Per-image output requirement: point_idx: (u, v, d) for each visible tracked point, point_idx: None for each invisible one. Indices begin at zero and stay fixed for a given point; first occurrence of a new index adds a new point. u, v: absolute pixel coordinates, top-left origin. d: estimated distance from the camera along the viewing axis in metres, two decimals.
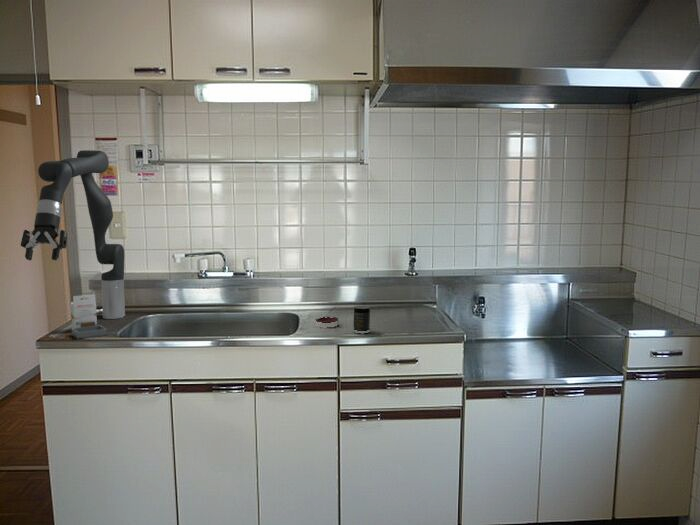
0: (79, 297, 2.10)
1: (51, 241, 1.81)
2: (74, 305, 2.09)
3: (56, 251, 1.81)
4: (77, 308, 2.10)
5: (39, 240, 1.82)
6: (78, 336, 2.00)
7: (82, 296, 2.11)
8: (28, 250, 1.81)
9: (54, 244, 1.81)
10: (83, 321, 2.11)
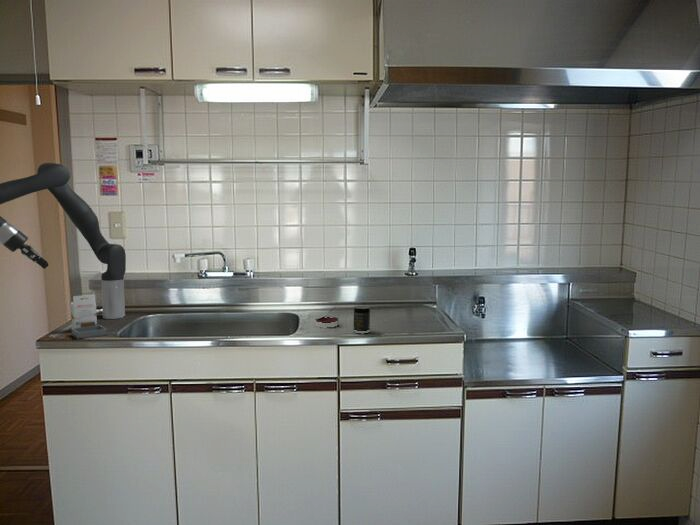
0: (79, 297, 2.10)
1: None
2: (74, 305, 2.09)
3: (39, 263, 1.99)
4: (77, 308, 2.10)
5: None
6: (78, 336, 2.00)
7: (82, 296, 2.11)
8: None
9: None
10: (83, 321, 2.11)
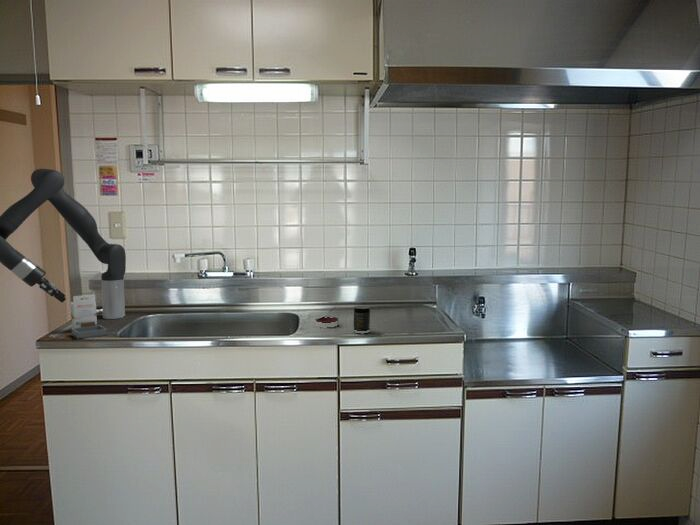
0: (79, 297, 2.10)
1: (47, 293, 2.03)
2: (74, 305, 2.09)
3: (57, 297, 2.04)
4: (77, 308, 2.10)
5: None
6: (78, 336, 2.00)
7: (82, 296, 2.11)
8: None
9: None
10: (83, 321, 2.11)
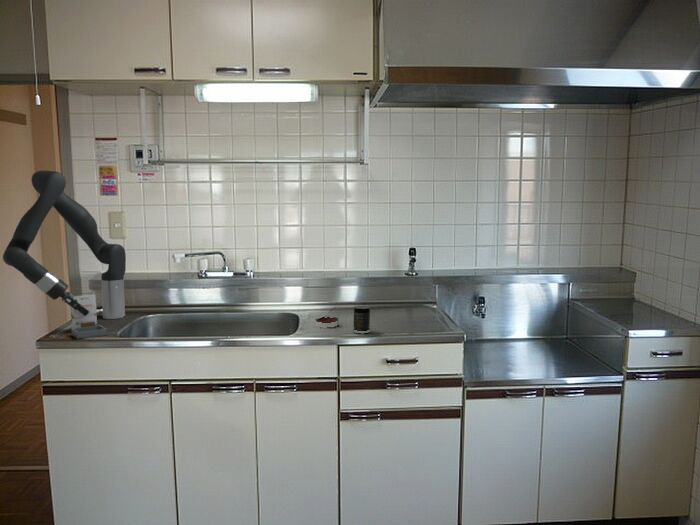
0: (79, 297, 2.10)
1: (71, 306, 2.09)
2: (74, 305, 2.09)
3: (80, 311, 2.09)
4: None
5: None
6: (78, 336, 2.00)
7: (82, 296, 2.10)
8: None
9: None
10: (83, 321, 2.11)
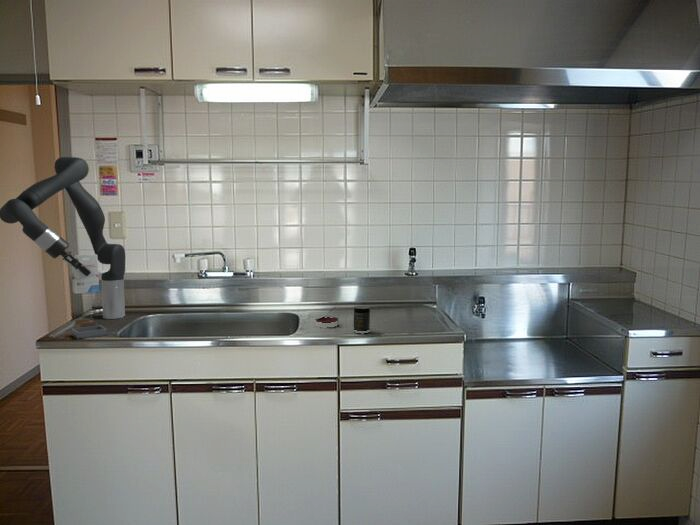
0: (80, 257, 2.00)
1: None
2: (75, 264, 1.99)
3: (81, 270, 2.00)
4: None
5: None
6: (78, 336, 2.00)
7: (84, 255, 2.01)
8: None
9: None
10: (84, 282, 2.02)
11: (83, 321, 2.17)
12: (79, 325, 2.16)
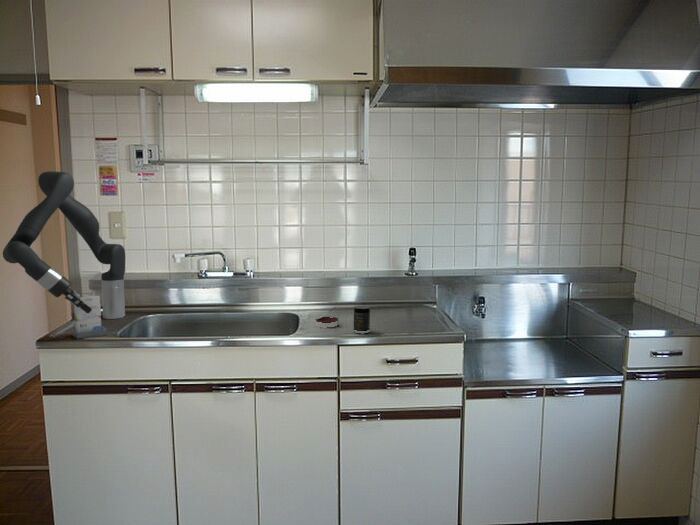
0: (83, 299, 2.02)
1: None
2: None
3: (82, 308, 2.00)
4: (81, 309, 2.02)
5: None
6: (78, 336, 2.00)
7: (86, 297, 2.03)
8: None
9: None
10: (87, 324, 2.04)
11: None
12: None
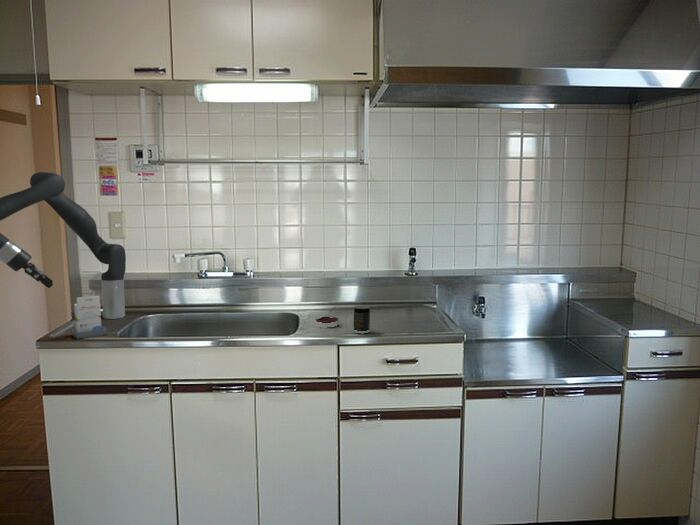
0: (83, 299, 2.02)
1: (33, 278, 1.93)
2: (78, 307, 2.01)
3: (43, 282, 1.94)
4: (81, 309, 2.02)
5: None
6: (78, 336, 2.00)
7: (86, 297, 2.03)
8: None
9: None
10: (87, 324, 2.04)
11: None
12: None
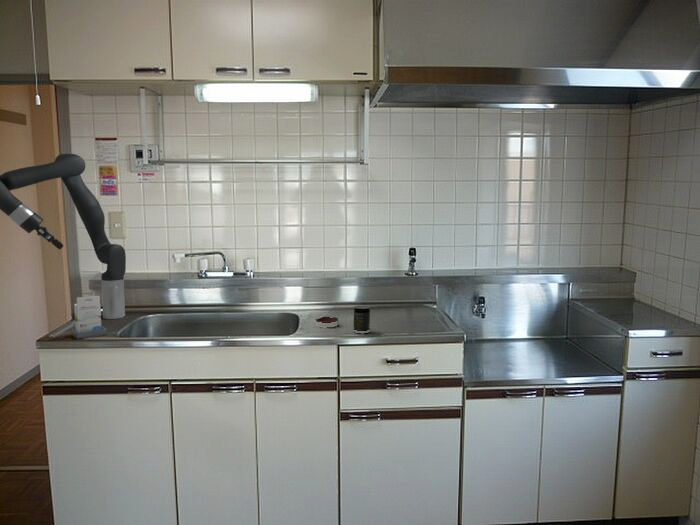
0: (83, 299, 2.02)
1: (45, 239, 2.04)
2: (78, 307, 2.01)
3: (54, 244, 2.05)
4: (81, 309, 2.02)
5: None
6: (78, 336, 2.00)
7: (86, 297, 2.03)
8: None
9: None
10: (87, 324, 2.04)
11: None
12: None
